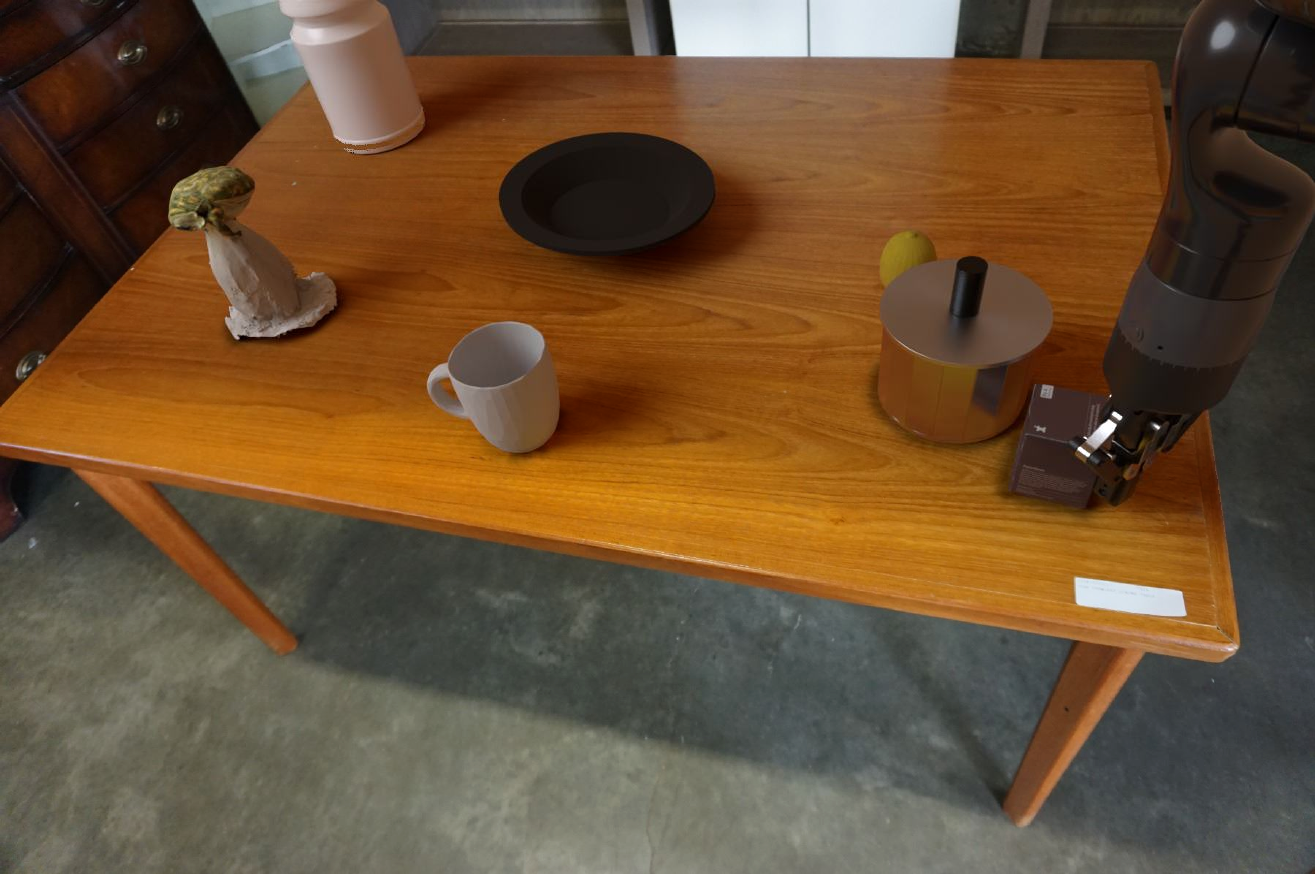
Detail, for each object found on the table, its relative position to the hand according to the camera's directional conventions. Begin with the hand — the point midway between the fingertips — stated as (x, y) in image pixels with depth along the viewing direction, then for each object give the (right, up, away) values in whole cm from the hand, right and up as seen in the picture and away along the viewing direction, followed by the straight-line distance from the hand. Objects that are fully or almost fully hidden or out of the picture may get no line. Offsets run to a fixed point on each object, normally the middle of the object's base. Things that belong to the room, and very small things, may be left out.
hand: (1111, 495), depth 65 cm
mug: (-50, +5, +17) cm, 53 cm away
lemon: (-9, +19, +23) cm, 31 cm away
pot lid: (-9, +15, +6) cm, 19 cm away
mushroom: (-80, +20, +35) cm, 89 cm away
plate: (-41, +30, +38) cm, 63 cm away
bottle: (-77, +51, +63) cm, 112 cm away
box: (-2, +1, +5) cm, 6 cm away
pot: (-8, +9, +13) cm, 17 cm away
